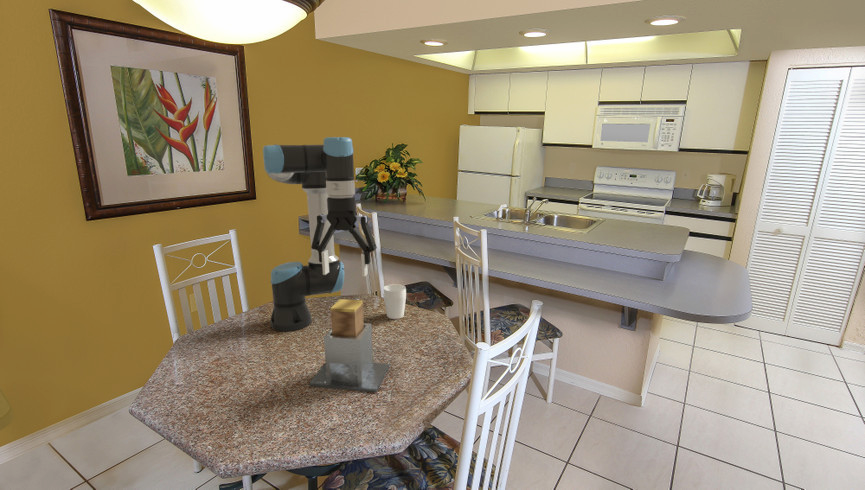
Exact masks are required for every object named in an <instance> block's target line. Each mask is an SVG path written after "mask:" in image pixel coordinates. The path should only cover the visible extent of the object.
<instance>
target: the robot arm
mask: <svg viewBox="0 0 865 490" xmlns="http://www.w3.org/2000/svg"><path fill="white" fill-rule="evenodd" d="M354 153H355V152H354V147H353V140H352V138H350V137H346V136H342V137H341V136H340V137H338V136H332V137H331V136H330V137H329V136H328V137H324V138H323V144H281V145H280V144H272V145H270V144H269V145H267V144H266V145H264V146H263V148H262V155H263V165H264V166H263V167H264V172H265V173H266V174H267V175H268V177H269V178H271V179H272V180H273V181H276V182H279V183H281V184H287V185H301V190H303V191H304V193H306V198H307V211H308V212H307V213H308V214H307V215H308V225H309V226H308V227H309V234H310V237H309V238H310V247H311V248H310V249H311V256H310V257H309V258H308V260H307V265H304V264H303V263H302V262H301V261H290V262H285V263H281V264H279V265H277V266H275V267H274V268H273V269H272V270H271V272H270V284H271V291H272V303H273V308H272V312H271V315H270V323H269V324H270V328H271V327H272V328H273V330H275V331H277V330H278V331H279V332H292V331H297V330H301V329H305V328H306V327H308V326H309V325H310V324H311V323H312V321H313V319H312V314H311V311H310V308H309V307H308V305H307V303H306V297H310V296H315V295H316V296H317V295H323V294H332V293H337V292H340V291H341V290H342V289H343V287H344V283H345V282H344V281H345V265H344V263H343V262H342V261H340V257H338V256H337V255H336V254H335V240H334V239H335V237H334V234H335V233H336V231H344V232H347V231H348V232H349V233H350V234H351V236H352V237H353V239H355V242H356V243H357V244H358V246H359V247H360V249H361V250H362V251H363V252H361V254H360V256H361V257H360V258H361V276H362V277H364V278H365V277H366V276H367V275H368V274H369V273H368V265H370V264H371V252H374V251H375V250H377V249H378V248H377V244H376V241H375V238H374V236H373V232H372V230H371V228H370V226H369V219H368V218H369V217H368V215H367V214H365V215H358V214H357V212H356V211H357V210H356V209H357V204H356V197H355V196H354V195H355V194H356V184H355V172H354V169H355V165H354ZM357 221H358V223H359V224H360V227H361V229H362V232H363V235H364V237H365V238H364V237H363V235H362V234H361V232H360V230H359V229H358V227H357V225H356V222H357Z"/></svg>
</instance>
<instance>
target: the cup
mask: <svg viewBox="0 0 865 490" xmlns="http://www.w3.org/2000/svg"><path fill="white" fill-rule="evenodd" d="M382 295H383V300H384V305H385V312H386V317H387V318H388V319H392V320H398V319H401V318H403V317H405V309H406V299H407V288H406V286H405V285H403V284H398V283H391V284H387V285H385V286H384V287H383V294H382Z"/></svg>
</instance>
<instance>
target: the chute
mask: <svg viewBox="0 0 865 490" xmlns="http://www.w3.org/2000/svg"><path fill="white" fill-rule="evenodd" d="M323 344H324V345H323V347H324V359H325V363H323V366H322V367H320V369H319V370H318V372H317V373H316V374H315V375H314V376H313V378H312V379H311V380H310V381H309V384H308V387H312V388H322V389H324V388H325V389H333V390H335V389H336V390H344V391H345V390H346V391H355V392H356V391H357V392H367V393H375V394H376V393H377V392H378V391H379V388H380V386H381V385H382V382H383V380H384V379H385V377H386V375H387V372H388V371H389V369H390V364H389V363H380V362H379V363H378V362H374V354H373V353H374V352H373V350H374V349H373V329H372V323H369V322H368V323H366V322H364V329H363V330H362V332H361V333H360V334H359V336H358V337H347V336H333V335H332V327H331V328H330V329H329V330H328V332H327V333H326V334H325V335H324V336H323Z"/></svg>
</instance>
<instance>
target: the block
mask: <svg viewBox="0 0 865 490" xmlns="http://www.w3.org/2000/svg"><path fill="white" fill-rule="evenodd" d="M363 301H364V300H361V299H359V300H358V299H344V298H343V299H341V298H339V299H338V300H337V301H336V302H335V303H334V304H333V305H332V306H331V307H330V320H331V323H330V324H331V328H332V335H333V336H347V337H358V336H359V334H360V333H361V332H362V330H363V329H364V323H365V322H364V303H363Z"/></svg>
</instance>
